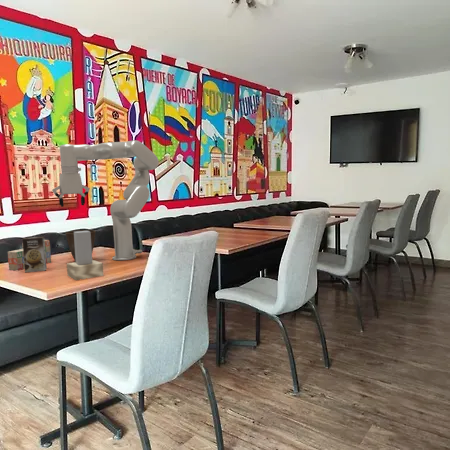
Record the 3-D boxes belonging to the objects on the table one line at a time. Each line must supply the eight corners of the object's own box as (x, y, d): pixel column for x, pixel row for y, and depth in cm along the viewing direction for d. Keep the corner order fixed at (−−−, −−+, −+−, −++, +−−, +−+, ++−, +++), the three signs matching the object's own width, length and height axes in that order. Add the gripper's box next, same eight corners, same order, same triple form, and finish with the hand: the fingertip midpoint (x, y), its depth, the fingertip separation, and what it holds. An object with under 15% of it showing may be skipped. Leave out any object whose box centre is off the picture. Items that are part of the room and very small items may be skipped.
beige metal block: (94, 272, 193) (93, 259, 193) (103, 276, 184) (102, 263, 183) (67, 276, 186) (66, 263, 186) (76, 281, 177) (74, 267, 176)
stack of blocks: (18, 270, 204) (15, 245, 202) (8, 270, 206) (6, 245, 205) (51, 262, 223) (49, 239, 222) (42, 261, 226) (41, 239, 224)
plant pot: (101, 258, 228) (99, 229, 226) (90, 263, 213) (88, 232, 212) (75, 259, 229) (73, 230, 228) (62, 264, 215) (60, 233, 213)
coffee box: (24, 272, 198) (21, 239, 196) (27, 270, 204) (24, 237, 202) (45, 270, 200) (42, 237, 198) (47, 268, 206) (44, 236, 205)
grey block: (89, 261, 189) (87, 230, 188) (92, 263, 183) (90, 231, 182) (75, 262, 186) (73, 231, 185) (78, 265, 180) (75, 232, 179)
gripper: (86, 170, 209) (88, 204, 211) (49, 171, 200) (52, 206, 202) (90, 169, 203) (92, 205, 205) (52, 170, 194) (55, 207, 195)
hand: (72, 205), depth 203 cm, fingers open, 9 cm apart
